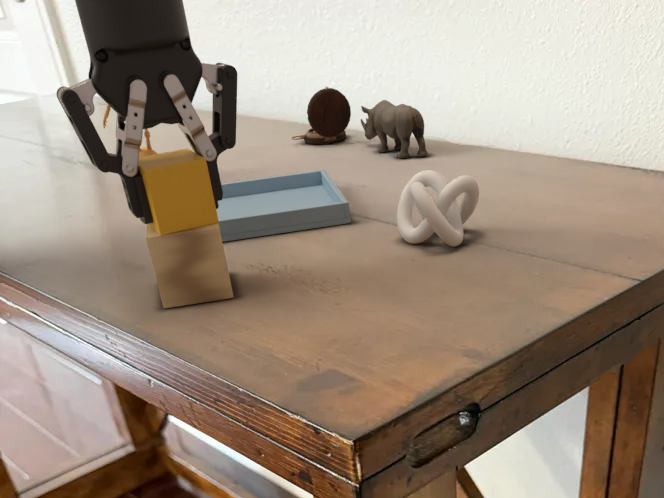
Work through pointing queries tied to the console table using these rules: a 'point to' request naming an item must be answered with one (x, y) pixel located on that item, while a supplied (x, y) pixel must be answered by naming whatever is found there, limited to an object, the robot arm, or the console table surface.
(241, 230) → the tray
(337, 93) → the compass
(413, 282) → the console table surface
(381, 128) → the rhino figurine
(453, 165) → the console table surface
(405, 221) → the knot
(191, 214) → the top block
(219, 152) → the robot arm
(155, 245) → the base block
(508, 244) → the console table surface
